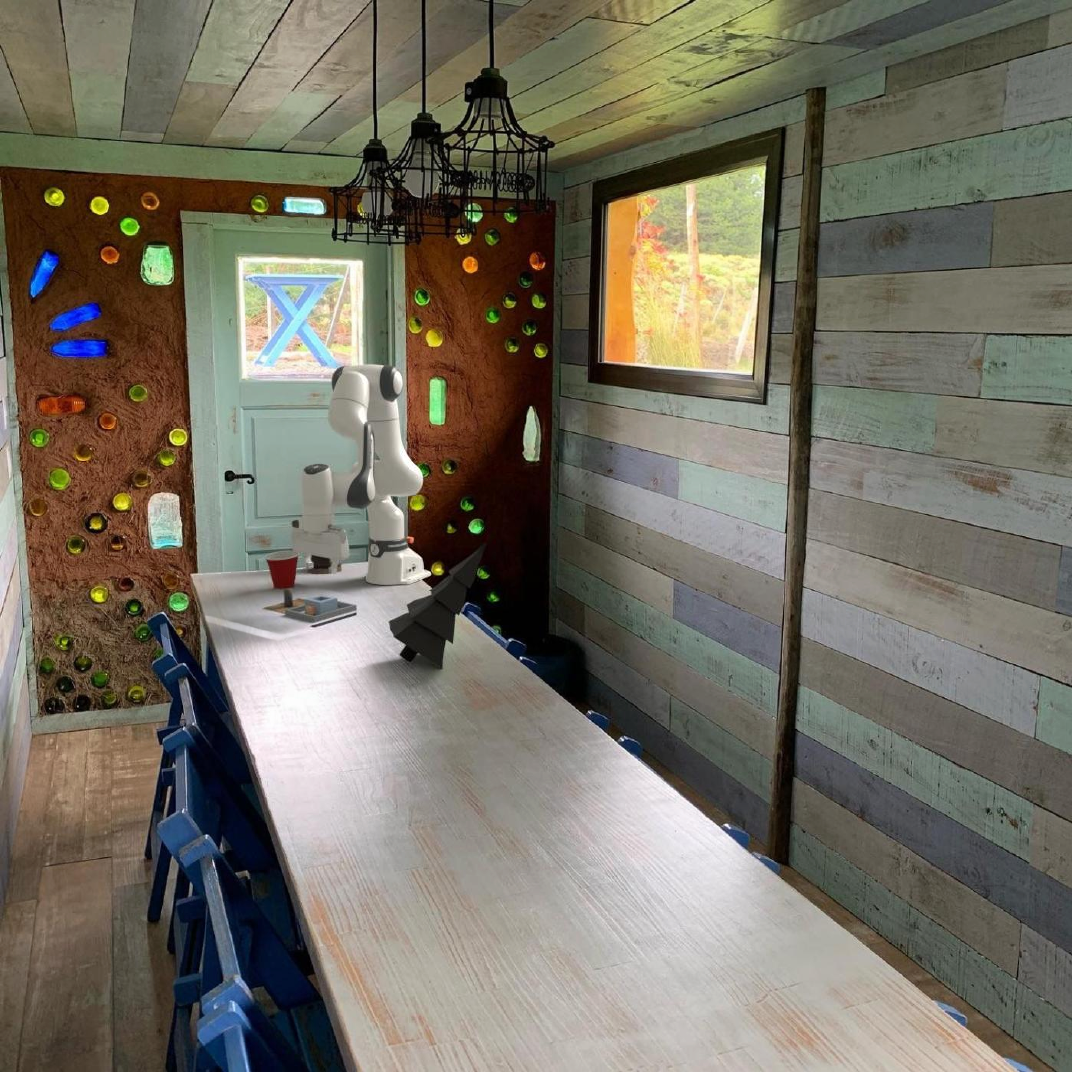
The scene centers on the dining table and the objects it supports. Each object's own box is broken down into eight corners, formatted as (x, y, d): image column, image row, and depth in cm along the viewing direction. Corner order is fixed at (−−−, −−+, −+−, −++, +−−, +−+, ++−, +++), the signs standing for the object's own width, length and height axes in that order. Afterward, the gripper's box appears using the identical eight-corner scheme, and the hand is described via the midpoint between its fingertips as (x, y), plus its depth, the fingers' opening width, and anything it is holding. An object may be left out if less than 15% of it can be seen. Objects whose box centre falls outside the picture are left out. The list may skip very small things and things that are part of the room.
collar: (321, 611, 312) (321, 594, 311) (337, 615, 308) (337, 598, 307) (300, 617, 305) (300, 600, 304) (316, 621, 302) (316, 603, 301)
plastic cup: (264, 588, 340) (262, 551, 338) (298, 585, 344) (297, 548, 341) (267, 596, 330) (265, 558, 328) (303, 593, 334) (301, 555, 331)
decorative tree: (433, 682, 263) (515, 565, 262) (383, 651, 259) (466, 532, 258) (426, 664, 278) (504, 552, 276) (378, 634, 273) (457, 521, 272)
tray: (327, 608, 317) (327, 598, 317) (356, 615, 310) (356, 605, 310) (285, 620, 304) (285, 610, 304) (314, 627, 298) (314, 617, 297)
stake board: (299, 603, 323) (298, 582, 321) (322, 608, 317) (321, 587, 316) (262, 613, 312) (261, 591, 310) (285, 618, 306) (284, 596, 305)
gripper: (353, 525, 299) (355, 573, 302) (302, 516, 310) (305, 563, 313) (336, 529, 294) (339, 578, 297) (285, 520, 305) (288, 568, 308)
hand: (321, 570), depth 305 cm, fingers open, 8 cm apart
